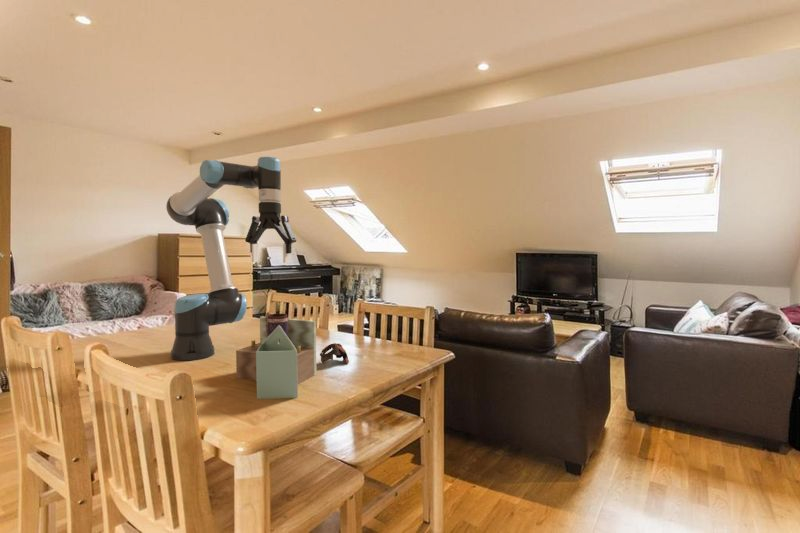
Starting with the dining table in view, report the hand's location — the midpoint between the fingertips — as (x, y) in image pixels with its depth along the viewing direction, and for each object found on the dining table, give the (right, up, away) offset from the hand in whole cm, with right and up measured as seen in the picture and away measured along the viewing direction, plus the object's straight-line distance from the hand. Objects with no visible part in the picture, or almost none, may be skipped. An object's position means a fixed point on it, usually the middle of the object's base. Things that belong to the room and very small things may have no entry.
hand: (270, 262), depth 148 cm
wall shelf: (+6, -37, -11) cm, 39 cm away
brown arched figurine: (+22, -37, +5) cm, 43 cm away
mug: (+5, -29, -12) cm, 32 cm away
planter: (+8, -39, -27) cm, 48 cm away
